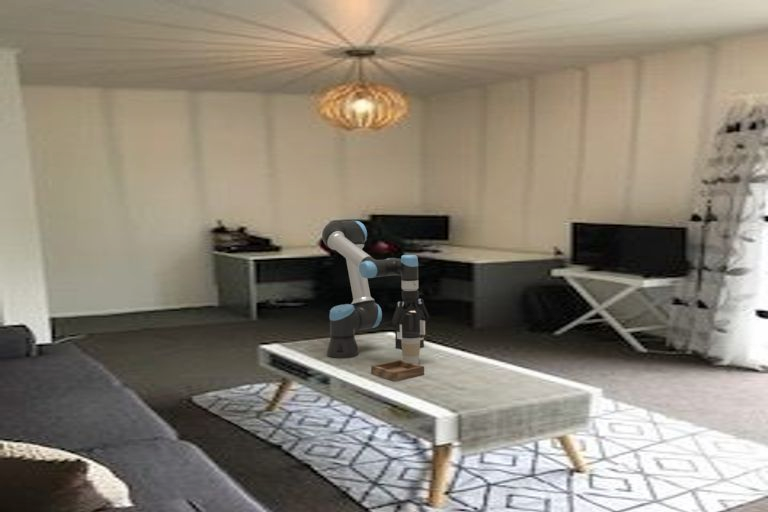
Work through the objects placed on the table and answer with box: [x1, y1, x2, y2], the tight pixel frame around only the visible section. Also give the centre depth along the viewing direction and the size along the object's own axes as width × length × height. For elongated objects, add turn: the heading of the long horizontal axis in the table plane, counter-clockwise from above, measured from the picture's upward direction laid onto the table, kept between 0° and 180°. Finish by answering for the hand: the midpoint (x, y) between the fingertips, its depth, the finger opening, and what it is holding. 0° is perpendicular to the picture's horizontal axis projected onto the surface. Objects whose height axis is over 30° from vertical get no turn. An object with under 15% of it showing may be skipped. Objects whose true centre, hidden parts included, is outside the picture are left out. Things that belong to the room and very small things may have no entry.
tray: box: [370, 359, 425, 382], centre depth 295 cm, size 16×16×4 cm
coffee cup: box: [401, 330, 421, 365], centre depth 312 cm, size 9×9×15 cm
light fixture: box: [394, 310, 425, 351], centre depth 344 cm, size 10×14×18 cm
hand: (411, 336), depth 311 cm, fingers open, 13 cm apart
